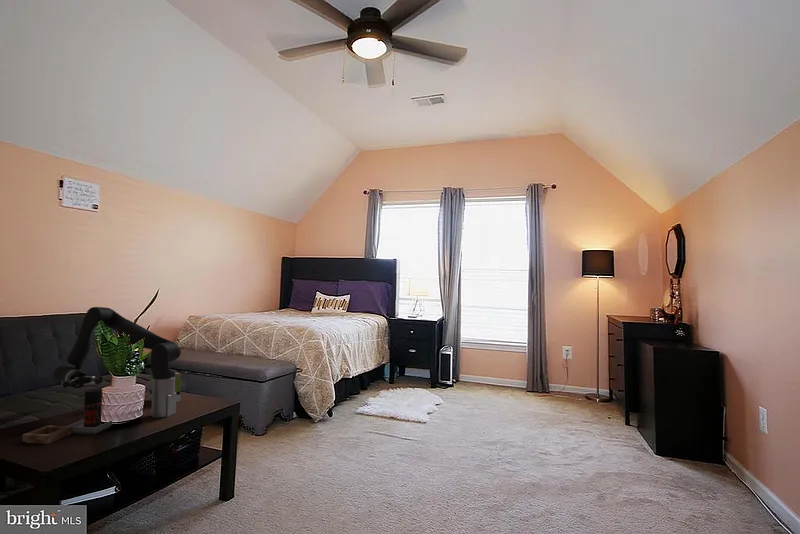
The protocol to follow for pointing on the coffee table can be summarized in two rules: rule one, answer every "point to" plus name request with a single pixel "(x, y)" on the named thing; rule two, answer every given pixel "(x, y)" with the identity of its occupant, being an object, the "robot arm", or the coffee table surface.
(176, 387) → the tea box
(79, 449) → the coffee table surface
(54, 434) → the socket block
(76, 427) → the tray
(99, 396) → the deodorant
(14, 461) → the coffee table surface
